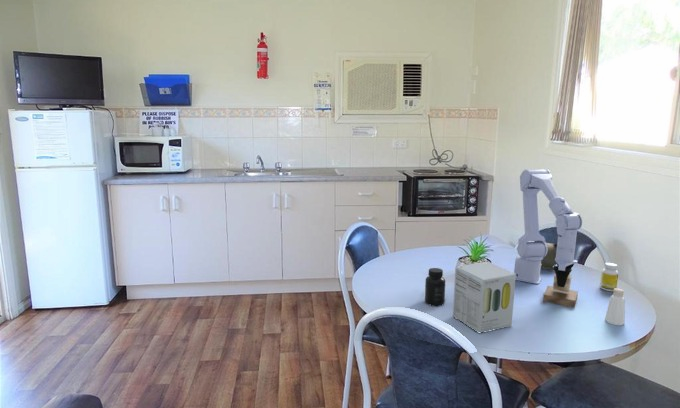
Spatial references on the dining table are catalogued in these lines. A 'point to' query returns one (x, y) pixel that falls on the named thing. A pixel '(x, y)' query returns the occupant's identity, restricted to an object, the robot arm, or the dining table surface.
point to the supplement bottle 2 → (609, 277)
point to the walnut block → (560, 297)
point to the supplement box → (484, 296)
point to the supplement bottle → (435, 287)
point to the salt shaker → (616, 308)
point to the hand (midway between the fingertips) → (561, 284)
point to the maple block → (567, 285)
